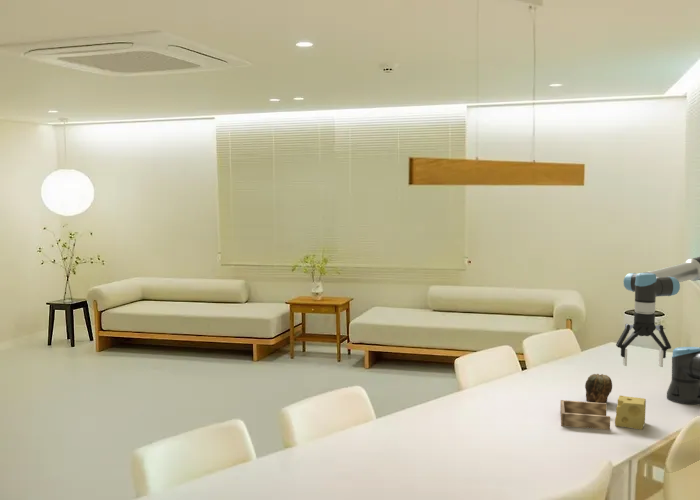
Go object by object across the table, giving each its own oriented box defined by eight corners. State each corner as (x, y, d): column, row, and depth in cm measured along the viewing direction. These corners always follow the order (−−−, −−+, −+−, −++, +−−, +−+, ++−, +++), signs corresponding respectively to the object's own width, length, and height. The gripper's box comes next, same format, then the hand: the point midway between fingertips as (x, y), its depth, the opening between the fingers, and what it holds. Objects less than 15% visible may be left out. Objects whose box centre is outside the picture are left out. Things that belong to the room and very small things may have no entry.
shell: (607, 406, 297) (608, 378, 296) (581, 402, 304) (582, 374, 303) (615, 400, 306) (615, 373, 305) (589, 396, 312) (590, 369, 312)
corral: (606, 415, 285) (606, 403, 285) (609, 429, 268) (610, 417, 267) (560, 411, 290) (560, 399, 290) (561, 425, 273) (561, 413, 272)
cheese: (614, 426, 272) (615, 401, 271) (618, 418, 282) (619, 394, 281) (643, 430, 267) (644, 404, 266) (646, 422, 277) (647, 397, 276)
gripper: (674, 311, 278) (672, 364, 279) (609, 310, 280) (607, 362, 282) (681, 314, 270) (679, 368, 272) (614, 313, 273) (612, 366, 275)
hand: (642, 365), depth 277 cm, fingers open, 13 cm apart
